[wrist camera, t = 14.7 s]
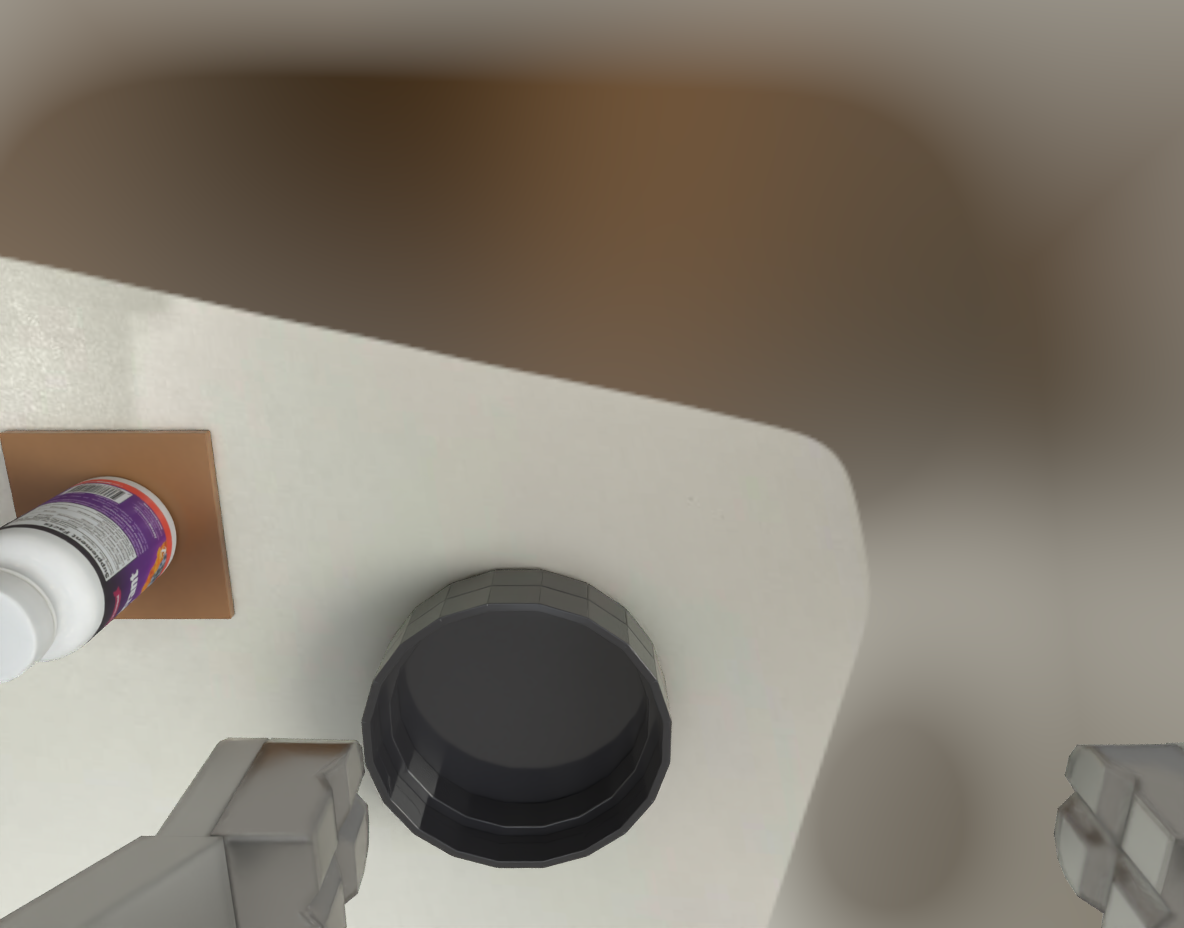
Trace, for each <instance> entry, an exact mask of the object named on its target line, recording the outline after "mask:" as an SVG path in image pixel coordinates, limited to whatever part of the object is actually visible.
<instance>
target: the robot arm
mask: <svg viewBox="0 0 1184 928" xmlns="http://www.w3.org/2000/svg"><path fill="white" fill-rule="evenodd" d="M364 773H365V769H364V761H363V753H362V747H361V745H360V744H359V742H358V741H357V740H328V739H291V738H271V739H268V738H227V739H225V740H222V741H220V742H219V743H218V744H217V745H216V747H215V748H214V749H213V751H212V752H211V754H210V755H209V757H208V758H207V760H206V761H205V763H204V764H203V766H202V767H201V769H200V770H199V772H198V773H197V775H196V776H195V778H194V779H193V781H192V782H191V784H190V785H189V787H188V788H187V790H186V791H185V793H184V794H183V796H182V797H181V798H180V800H179V801H178V803H177V804H176V806H175V807H174V809H173V810H172V812H171V813H170V815H169V816H168V818H167V819H166V821H165V822H164V824H163V825H162V827H161V828H160V830H159V831H158V833H157V834H156V836H141V837H139V838H137V839H136V840H134V841H132V842H130V843H129V844H127V845H125V846H124V847H122V848H120V849H119V850H117V851H115V852H113V853H112V854H110V855H108V856H107V857H105V858H103V859H102V860H100V861H98V862H97V863H95V864H93V865H91V866H90V867H88V868H86V869H85V870H83V871H81V872H80V873H78V874H76V875H75V876H73V877H71V878H69V879H68V880H66V881H64V882H63V883H61V884H59V885H58V886H56V887H54V888H53V889H51V890H49V891H47V892H46V893H44V894H42V895H41V896H39V897H37V898H36V899H34V900H32V901H31V902H29V903H27V904H25V905H24V906H22V907H20V908H19V909H17V910H15V911H14V912H12V913H10V914H9V915H7V916H5V917H3V918H2V919H0V928H346V927H347V925H346V915H345V904H346V903H347V902H348V901H349V900H350V899H352V898H353V897H354V896H355V895H356V894H358V891H359V887H360V884H361V881H362V878H363V874H364V870H365V864H366V858H367V852H368V845H369V815H368V805H367V804H366V803H365V801H364V800H363V799H362V798H361V797H360V796H359V795H358V794H357V792H358V789H359V786H360V784H361V781H362V778H363V776H364ZM1065 776H1066V778H1067V780H1068V781H1069V783H1070V784H1071V786H1072V788H1073V789H1074V791H1075V792H1074V793H1073V794H1072V795H1071V796H1070V797H1069V798H1068V799H1067V800H1066V801H1065V802H1064V803H1063V804H1062V805H1061V806H1060V807H1059V808H1058V811H1057V818H1056V824H1055V831H1054V837H1055V843H1056V849H1057V857H1058V860H1059V863H1060V865H1061V868H1062V870H1063V873H1064V875H1065V878H1066V879H1067V880H1068V882H1069V884H1070V885H1071V887H1072V888H1073V890H1074V891H1075V893H1076V894H1077V896H1078V897H1079V898H1081V899H1082V900H1084V901H1086V902H1087V903H1088V904H1090V905H1091V906H1093V907H1095V908H1096V909H1098V910H1099V911H1101V912H1102V913H1104V914H1103V920H1102V926H1101V928H1184V743H1166V744H1146V745H1145V744H1144V745H1143V744H1140V745H1139V744H1138V745H1135V744H1132V745H1077V746H1076V747H1075V749H1074V750H1073V751H1072V753H1071V755H1070V756H1069V759H1068V764H1067V768H1066V772H1065Z"/></svg>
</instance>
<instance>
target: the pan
mask: <svg viewBox="0 0 1184 928" xmlns="http://www.w3.org/2000/svg"><path fill="white" fill-rule="evenodd" d="M361 723H362V734H363V745H364V757H365V763H366V766H367V769H368V771H369V773H370V775H371V777H372V779H373V781H374V783H375V785H376V788H377V790H378V792H379V794H380V796H381V798H382V800H383V802H384V803H385V804H386V805H387V806H388V808H389V809H390V810H391V811H392V812H393V813H394V814H395V815H396V816H397V817H398V818H399V819H400V820H401V821H402V822H403V823H404V824H405V825H406V826H407V827H408V828H409V830H410V831H411V832H412V833H414V834H415V835H416V836H418V837H420V838H422V839H423V840H425V841H427V842H429V843H430V844H432V845H434V846H436V847H437V848H439V849H441V850H443V851H444V852H446V853H448V854H450V855H451V856H454V857H457V858H461V859H465V860H469V861H472V862H476V863H480V864H484V865H488V866H492V867H496V868H497V867H498V868H545V867H549V866H553V865H556V864H560V863H564V862H568V861H571V860H575V859H579V858H583V857H586V856H589V855H590V854H592V853H594V852H595V851H597V850H599V849H600V848H602V847H604V846H605V845H607V844H609V843H610V842H612V841H614V840H616V839H617V838H619V837H621V836H622V835H624V834H625V833H626V832H627V831H628V830H629V829H630V828H631V827H632V826H633V825H634V824H635V822H636V821H637V820H638V819H639V818H640V817H641V816H642V815H643V813H644V812H645V811H646V810H647V809H648V808H649V807H650V806H651V804H652V803H653V802H654V801H655V798H656V796H657V793H658V791H659V789H660V786H661V784H662V781H663V779H664V777H665V774H666V772H667V769H668V767H669V765H670V755H671V726H672V721H671V715H670V708H669V702H668V697H667V690H666V684H665V678H664V675H663V672H662V669H661V667H660V664H659V661H658V658H657V655H656V652H655V649H654V646H653V643H652V642H651V640H650V639H649V637H648V636H647V635H646V634H645V632H644V631H643V630H642V628H641V627H640V626H639V625H638V623H637V622H636V621H635V620H634V618H633V617H632V616H631V614H630V613H629V612H628V611H627V610H626V609H625V608H624V607H623V606H621V605H620V604H618V603H617V602H615V601H614V600H612V599H611V598H609V597H608V596H606V595H605V594H603V593H602V592H600V591H599V590H597V589H596V588H594V587H593V586H591V585H590V584H587V583H586V582H582V581H579V580H576V579H572V578H569V577H565V576H562V575H559V574H555V573H552V572H549V571H545V570H496V571H495V570H494V571H491V572H487V573H484V574H481V575H477V576H474V577H471V578H467V579H464V580H461V581H457V582H454V583H452V584H449V585H448V586H447V587H445V588H444V589H442V590H441V591H439V592H438V593H436V594H435V595H433V596H432V597H431V598H429V599H428V600H426V601H425V602H423V603H422V604H420V605H419V606H417V607H416V608H415V609H414V610H413V611H412V613H411V614H410V616H409V617H408V618H407V620H406V621H405V622H404V624H403V625H402V626H401V628H400V629H399V630H398V632H397V633H396V635H395V636H394V637H393V639H392V640H391V642H390V644H389V646H388V648H387V650H386V653H385V655H384V657H383V659H382V662H381V664H380V666H379V668H378V671H377V673H376V675H375V677H374V680H373V682H372V686H371V689H370V693H369V696H368V700H367V703H366V707H365V710H364V714H363V717H362V722H361Z"/></svg>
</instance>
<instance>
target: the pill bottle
mask: <svg viewBox="0 0 1184 928" xmlns="http://www.w3.org/2000/svg"><path fill="white" fill-rule="evenodd" d="M175 548H176V530H175V525H174V522H173V519H172V517H171V515H170V513H169V511H168V510H167V508H166V507H165V505H164V504H163V503H162V502H161V501H160V499H159V498H158V497H157V496H155V495H154V494H153V493H152V492H151V491H149V490H148V489H146V488H145V487H143V486H141V485H139V484H137V483H135V482H133V481H130V480H127V479H123V478H119V477H110V476H107V477H96V478H92V479H88V480H85V481H83V482H80V483H78V484H76V485H74V486H72V487H70V488H69V489H67V490H65V491H64V492H62V493H60V494H58V495H57V496H55V497H53V498H52V499H50V500H48V501H46V502H45V503H43V504H41V505H39V506H38V507H36V508H34V509H32V510H31V511H29V512H27V513H25V514H24V515H22V516H20V517H18V518H16V519H15V520H13V521H11V522H9V523H7V524H6V525H4V526H2V527H1V528H0V684H1V683H5V682H8V681H11V680H13V679H15V678H17V677H18V676H20V675H21V674H23V673H24V672H25V671H26V670H28V669H29V668H30V667H31V666H32V665H34V664H35V663H36V662H48V661H52V660H56V659H60V658H62V657H65V656H67V655H69V654H71V653H73V652H75V651H76V650H78V649H79V648H81V647H83V646H84V645H85V644H86V643H87V642H89V641H90V640H91V639H92V638H93V637H94V636H95V635H96V634H97V633H98V632H99V631H101V630H102V629H103V628H104V627H105V626H106V625H107V624H108V623H109V622H110V621H112V620H113V619H114V618H115V617H116V616H117V615H118V614H119V613H120V612H121V611H123V610H124V609H125V608H126V607H127V606H128V605H129V604H130V603H131V602H132V601H133V600H135V599H136V598H137V597H138V596H139V595H140V594H141V593H142V592H143V591H144V590H145V589H146V588H148V587H149V586H150V585H151V584H152V583H153V582H154V581H155V580H156V579H157V578H158V577H159V576H160V575H161V574H162V573H163V572H164V571H165V569H166V568H167V567H168V565H169V564H170V562H171V560H172V558H173V556H174V553H175Z"/></svg>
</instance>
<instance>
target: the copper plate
mask: <svg viewBox="0 0 1184 928" xmlns="http://www.w3.org/2000/svg"><path fill="white" fill-rule="evenodd" d="M0 440H1V445H2V450H3V455H4V460H5V464H6V469H7V474H8V479H9V483H10V488H11V493H12V498H13V502H14V507H15V512H16V517H17V518H18V517H20V516H22V515H24V514H25V513H27V512H29V511H31V510H32V509H34V508H36V507H38V506H39V505H41V504H43V503H45V502H46V501H48V500H50V499H52V498H53V497H55V496H57V495H58V494H60V493H62V492H64V491H65V490H67V489H69V488H70V487H72V486H74V485H76V484H78V483H80V482H83V481H85V480H88V479H92V478H96V477H107V476H110V477H119V478H123V479H127V480H130V481H133V482H135V483H137V484H139V485H141V486H143V487H145V488H146V489H148V490H149V491H151V492H152V493H153V494H154V495H155V496H157V497H158V498H159V499H160V501H161V502H162V503H163V504H164V505H165V507H166V508H167V510H168V511H169V513H170V515H171V517H172V519H173V522H174V525H175V530H176V548H175V553H174V556H173V558H172V560H171V562H170V564H169V565H168V567H167V568H166V569H165V571H164V572H163V573H162V574H161V575H160V576H159V577H158V578H157V579H156V580H155V581H154V582H153V583H152V584H151V585H150V586H149V587H148V588H146V589H145V590H144V591H143V592H142V593H141V594H140V595H139V596H138V597H137V598H136V599H135V600H133V601H132V602H131V603H130V604H129V605H128V606H127V607H126V608H125V609H124V610H123V611H121V612H120V613H119V614H118V615H117V616H116V617H115V618H114V619H231V618H232V617H233V615H234V606H233V599H232V591H231V584H230V577H229V569H228V562H227V554H226V547H225V539H224V532H223V525H222V517H221V510H220V502H219V495H218V487H217V480H216V473H215V465H214V458H213V450H212V443H211V435H210V431H4V432H1V433H0Z"/></svg>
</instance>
